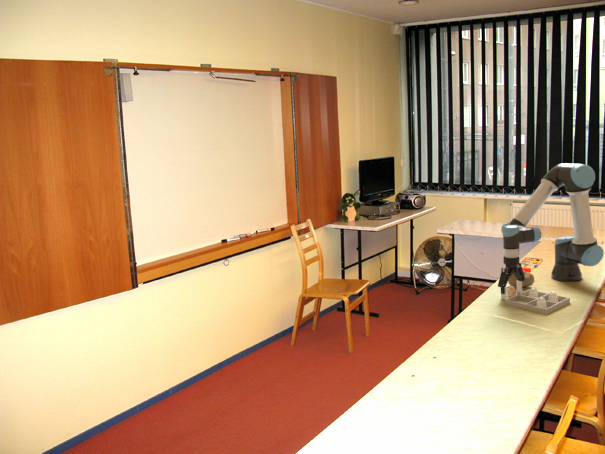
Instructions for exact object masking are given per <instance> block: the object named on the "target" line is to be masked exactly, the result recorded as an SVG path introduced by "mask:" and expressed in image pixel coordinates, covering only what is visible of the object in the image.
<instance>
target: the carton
mask: <svg viewBox="0 0 605 454" xmlns="http://www.w3.org/2000/svg"><path fill="white" fill-rule="evenodd" d="M530 289H531V288H530ZM530 289H527V290H525V291H522V293H518V294H517V293H516V295H515V296H513V297H509V298H508V297H507V299H506V300H505V299H504V305H506V306H509V307H514V308H518V309H522V310H527V311H530V312H534V313H538V314H542V315H548V314H550V313H552V312H554V311H556V310H559V309H560V308H562V307H563V308H564V306H567V305H569V304H570V303H571V298H570V297H567V296H562V295H558V294H557V296H558V303H555V302H550V301H548V296H549V294H550V292H549V293H547V292H544V291H539V290H537V292H538V298H539V297H543V298H544V299H545V301H546V309H544V308H540V307H537V300H538V298H532V297H529V291H530Z"/></svg>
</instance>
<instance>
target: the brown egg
mask: <svg viewBox="0 0 605 454" xmlns="http://www.w3.org/2000/svg"><path fill="white" fill-rule="evenodd" d="M515 295H517V289H516V287H514V286H511V285H510V286H508V288H507V297H509V298H510V297H513V296H515Z"/></svg>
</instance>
